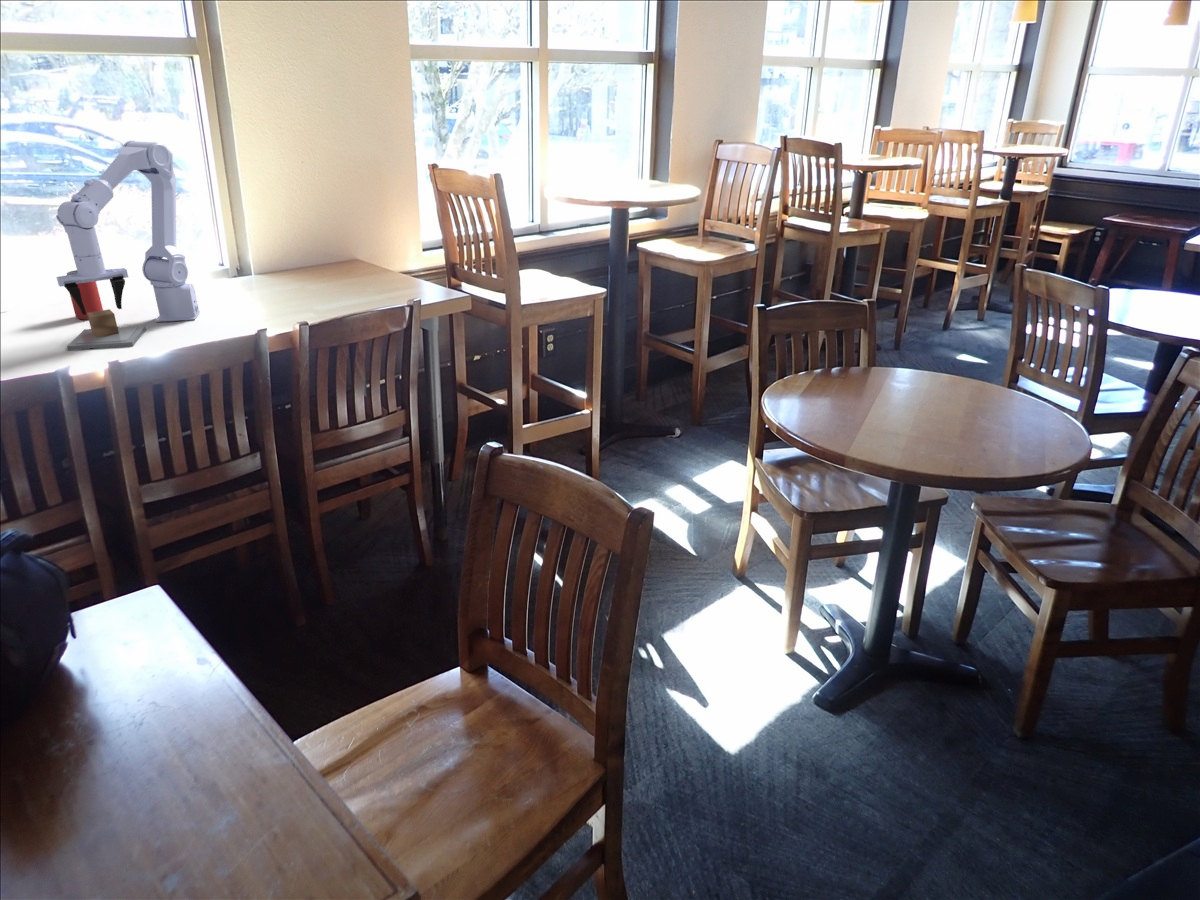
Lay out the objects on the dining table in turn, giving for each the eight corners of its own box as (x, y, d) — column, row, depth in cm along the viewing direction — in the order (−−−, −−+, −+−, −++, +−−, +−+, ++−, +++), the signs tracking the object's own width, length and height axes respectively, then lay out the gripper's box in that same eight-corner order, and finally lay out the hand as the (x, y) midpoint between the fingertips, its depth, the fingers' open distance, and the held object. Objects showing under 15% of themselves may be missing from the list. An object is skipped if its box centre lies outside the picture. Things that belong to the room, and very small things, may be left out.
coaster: (146, 329, 212) (145, 325, 212) (133, 346, 200) (132, 341, 200) (85, 333, 209) (84, 329, 209) (68, 350, 197) (66, 345, 196)
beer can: (77, 315, 224) (65, 270, 219) (105, 312, 227) (94, 268, 221) (75, 321, 219) (62, 275, 213) (103, 318, 221) (92, 273, 216)
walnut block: (114, 328, 209) (109, 309, 207) (119, 333, 206) (114, 313, 203) (92, 332, 206) (86, 312, 204) (96, 337, 203) (91, 317, 201)
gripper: (117, 247, 203) (130, 302, 209) (48, 255, 195) (64, 312, 200) (124, 252, 198) (137, 308, 204) (54, 261, 190) (70, 319, 195)
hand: (101, 311), depth 202 cm, fingers open, 7 cm apart
